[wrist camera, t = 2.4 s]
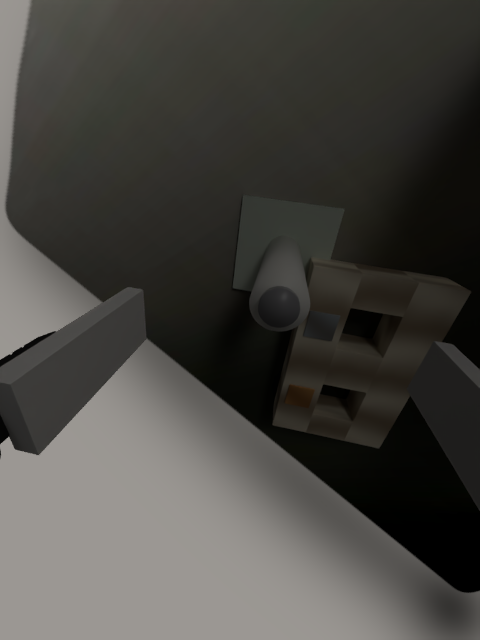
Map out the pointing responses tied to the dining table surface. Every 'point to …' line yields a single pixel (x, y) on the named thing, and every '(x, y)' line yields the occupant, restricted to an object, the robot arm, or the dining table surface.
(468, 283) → the dining table surface
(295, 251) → the plug
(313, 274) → the socket block
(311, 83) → the dining table surface
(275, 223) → the pad
